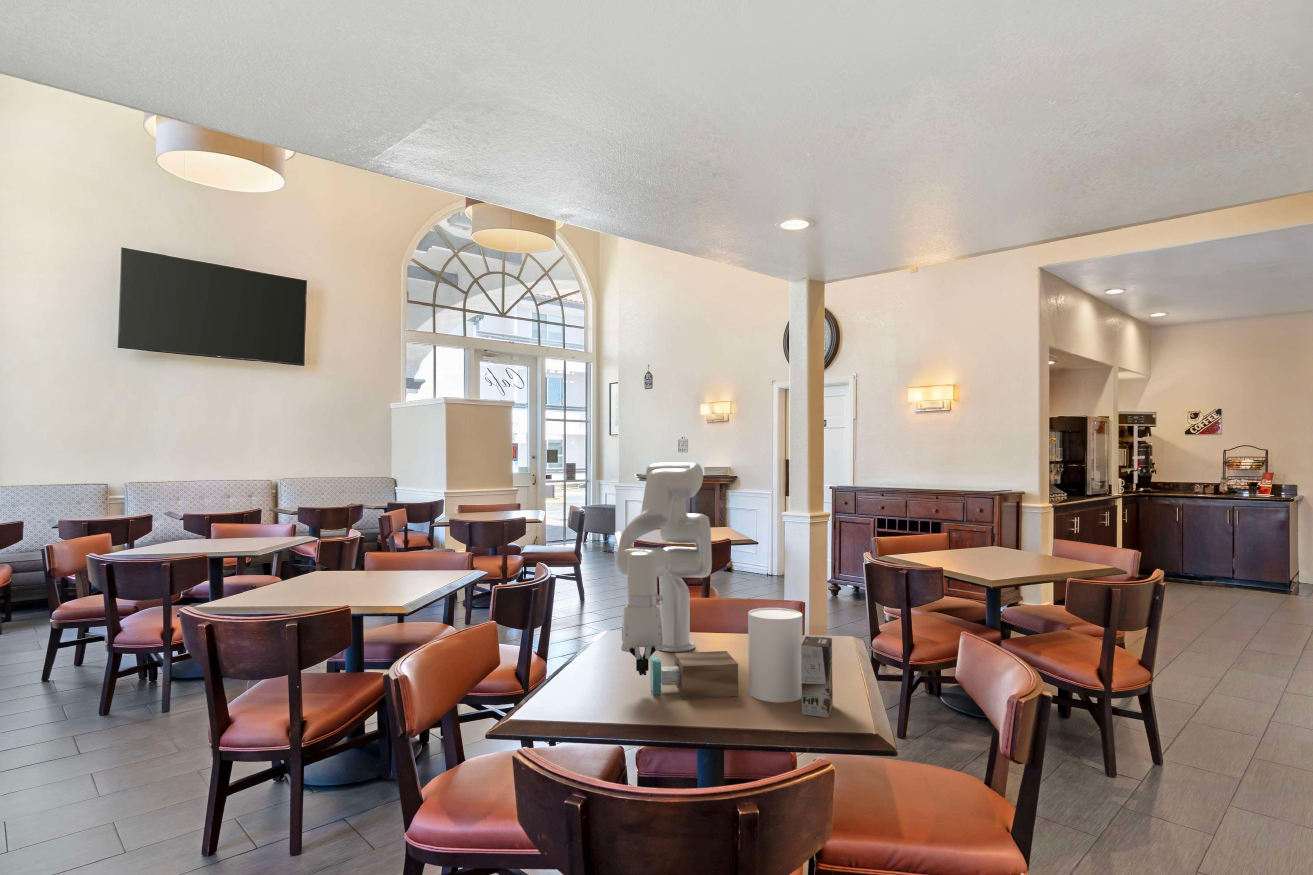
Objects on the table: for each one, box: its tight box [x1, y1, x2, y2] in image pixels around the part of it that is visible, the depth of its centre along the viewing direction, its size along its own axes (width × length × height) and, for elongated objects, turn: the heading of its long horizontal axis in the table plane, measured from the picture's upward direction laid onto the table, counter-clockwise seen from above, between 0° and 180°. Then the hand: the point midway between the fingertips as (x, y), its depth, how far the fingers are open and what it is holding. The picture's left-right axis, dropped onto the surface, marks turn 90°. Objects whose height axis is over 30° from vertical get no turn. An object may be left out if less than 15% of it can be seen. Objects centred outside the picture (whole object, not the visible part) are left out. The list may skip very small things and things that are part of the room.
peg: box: [649, 655, 680, 695], centre depth 175 cm, size 5×14×8 cm, turn 98°
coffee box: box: [801, 635, 834, 719], centre depth 162 cm, size 9×6×16 cm
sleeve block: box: [674, 650, 739, 700], centre depth 176 cm, size 12×14×8 cm
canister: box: [747, 607, 804, 703], centre depth 174 cm, size 14×14×20 cm
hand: (642, 673), depth 174 cm, fingers closed
